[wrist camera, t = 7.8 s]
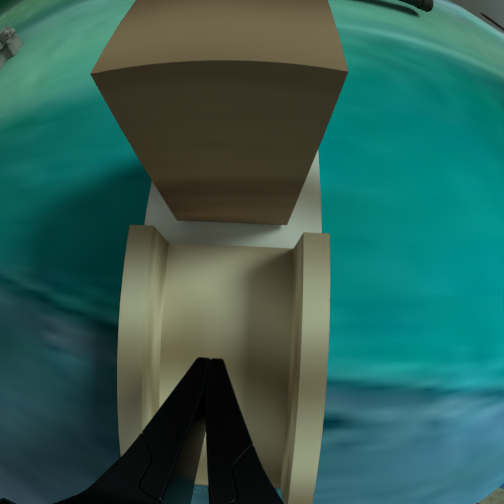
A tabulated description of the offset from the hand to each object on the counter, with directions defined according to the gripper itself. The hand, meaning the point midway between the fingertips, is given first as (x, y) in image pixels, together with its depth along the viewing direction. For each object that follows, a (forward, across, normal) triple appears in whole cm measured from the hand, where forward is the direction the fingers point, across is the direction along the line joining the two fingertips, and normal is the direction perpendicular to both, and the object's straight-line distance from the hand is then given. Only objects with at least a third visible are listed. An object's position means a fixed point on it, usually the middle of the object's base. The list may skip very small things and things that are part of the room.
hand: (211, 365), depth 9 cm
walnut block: (+11, 0, -3) cm, 11 cm away
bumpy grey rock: (+28, +37, -19) cm, 50 cm away
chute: (+6, 0, +4) cm, 7 cm away
